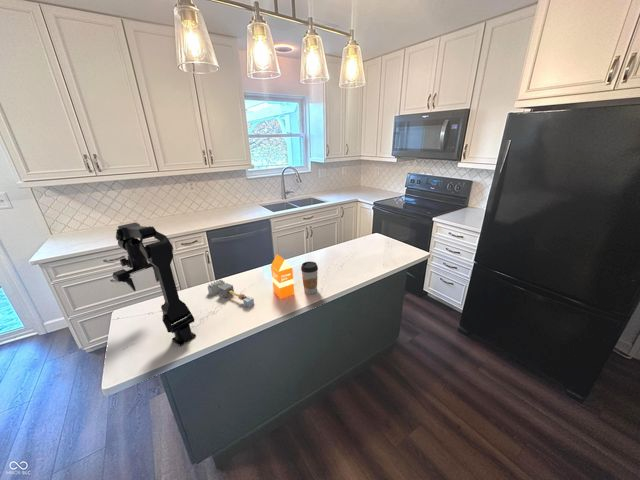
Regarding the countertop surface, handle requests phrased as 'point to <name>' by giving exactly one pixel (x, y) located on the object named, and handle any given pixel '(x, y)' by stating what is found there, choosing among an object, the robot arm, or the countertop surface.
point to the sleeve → (225, 289)
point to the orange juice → (282, 277)
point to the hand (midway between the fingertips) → (146, 286)
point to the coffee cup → (309, 277)
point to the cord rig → (214, 289)
